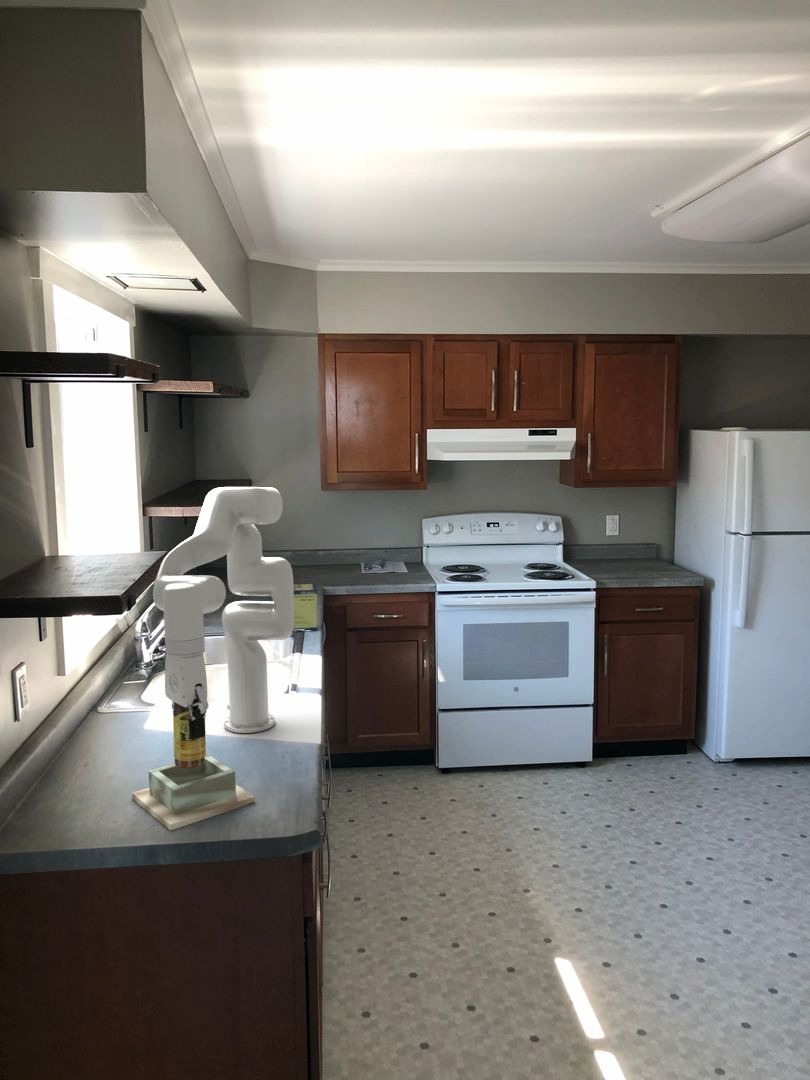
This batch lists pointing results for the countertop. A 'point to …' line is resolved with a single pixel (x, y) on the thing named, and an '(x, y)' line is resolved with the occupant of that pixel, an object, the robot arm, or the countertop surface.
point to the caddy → (191, 793)
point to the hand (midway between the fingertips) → (189, 732)
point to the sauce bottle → (186, 740)
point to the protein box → (305, 607)
